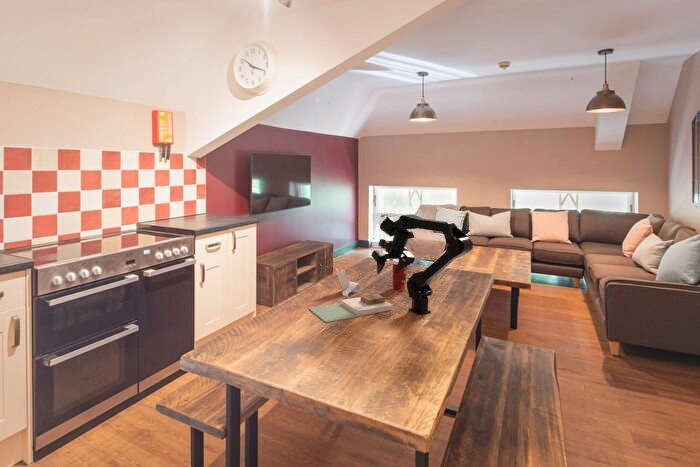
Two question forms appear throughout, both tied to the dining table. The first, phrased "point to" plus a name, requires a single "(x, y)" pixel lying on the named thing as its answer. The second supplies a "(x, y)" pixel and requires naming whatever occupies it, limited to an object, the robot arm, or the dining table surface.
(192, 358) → the dining table surface
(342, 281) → the plastic part
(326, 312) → the mat
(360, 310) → the deck
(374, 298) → the walnut tile
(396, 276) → the paper cup
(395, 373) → the dining table surface
